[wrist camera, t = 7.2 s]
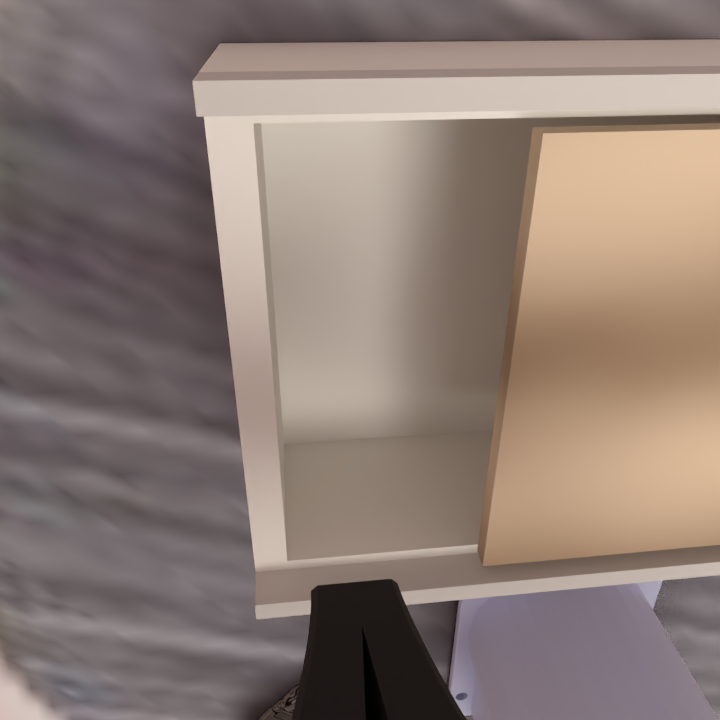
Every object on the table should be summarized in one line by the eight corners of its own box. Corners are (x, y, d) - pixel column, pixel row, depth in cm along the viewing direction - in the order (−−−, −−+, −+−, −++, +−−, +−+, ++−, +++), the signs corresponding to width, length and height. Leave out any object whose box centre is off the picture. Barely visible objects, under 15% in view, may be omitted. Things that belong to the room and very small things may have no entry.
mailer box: (675, 430, 22) (796, 567, 17) (260, 460, 21) (256, 619, 16) (795, 38, 16) (1040, 69, 11) (220, 43, 15) (192, 80, 10)
